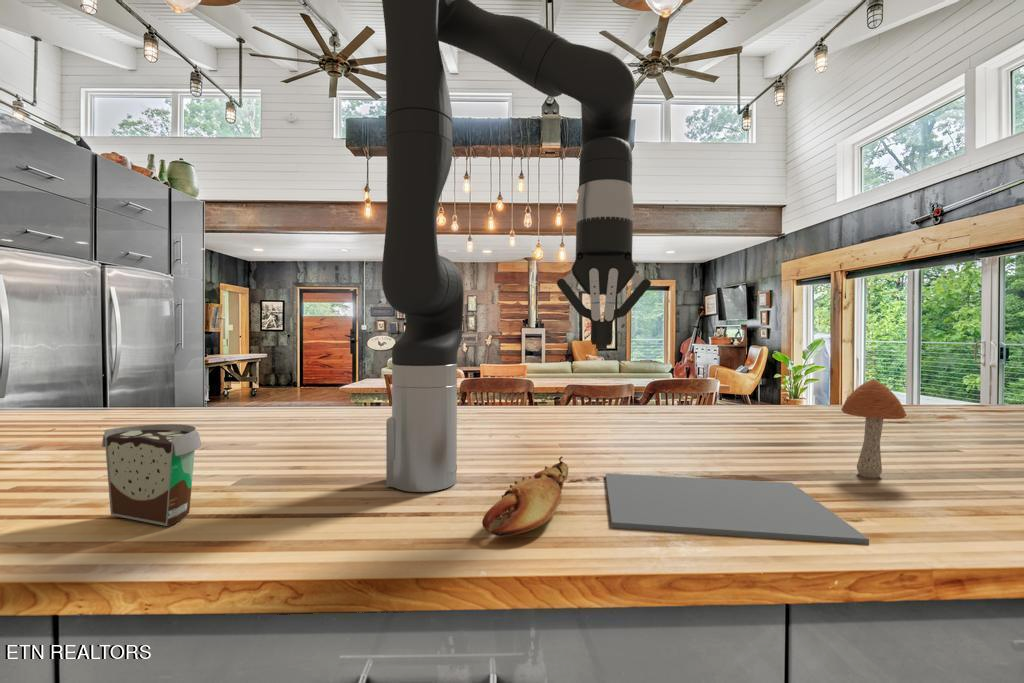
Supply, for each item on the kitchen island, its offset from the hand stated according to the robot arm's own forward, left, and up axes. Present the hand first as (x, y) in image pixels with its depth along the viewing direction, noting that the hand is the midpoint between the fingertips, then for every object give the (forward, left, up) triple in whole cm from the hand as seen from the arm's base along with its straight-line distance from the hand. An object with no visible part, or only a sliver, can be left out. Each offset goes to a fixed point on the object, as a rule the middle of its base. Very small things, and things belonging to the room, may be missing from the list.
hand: (601, 348), depth 65 cm
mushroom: (+41, +14, -20) cm, 48 cm away
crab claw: (-4, +1, -17) cm, 17 cm away
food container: (-52, -16, -20) cm, 58 cm away
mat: (+14, -3, -20) cm, 24 cm away
